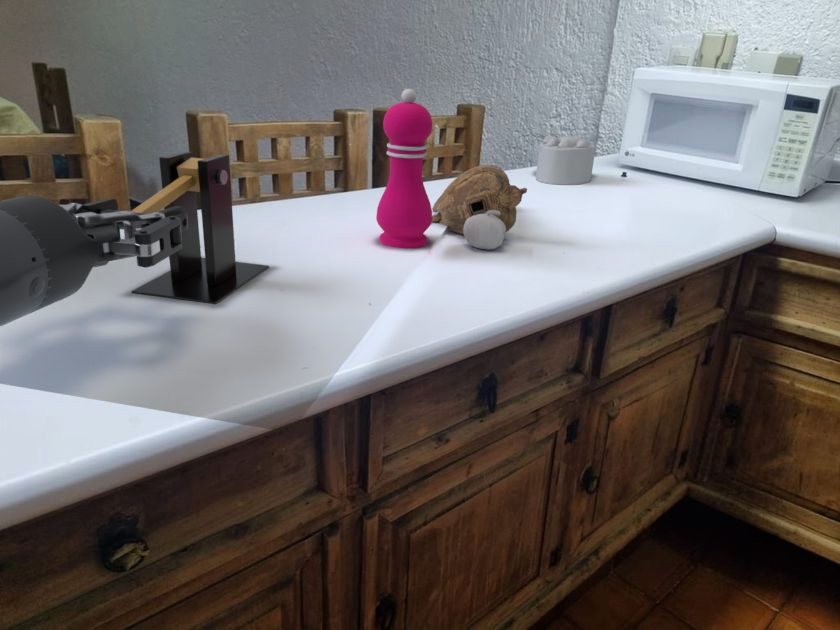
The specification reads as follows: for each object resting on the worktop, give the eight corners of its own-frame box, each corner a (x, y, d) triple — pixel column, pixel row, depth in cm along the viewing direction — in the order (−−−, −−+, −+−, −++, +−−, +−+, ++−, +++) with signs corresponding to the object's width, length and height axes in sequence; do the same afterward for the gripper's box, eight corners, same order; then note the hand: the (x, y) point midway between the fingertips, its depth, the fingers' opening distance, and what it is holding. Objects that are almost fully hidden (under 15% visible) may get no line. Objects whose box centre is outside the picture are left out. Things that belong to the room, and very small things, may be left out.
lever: (161, 241, 55) (155, 215, 54) (98, 234, 56) (90, 208, 55) (232, 183, 66) (229, 160, 65) (178, 178, 67) (173, 155, 66)
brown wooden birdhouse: (410, 189, 91) (514, 156, 86) (445, 161, 113) (530, 134, 108) (432, 256, 94) (534, 228, 89) (462, 216, 116) (546, 192, 111)
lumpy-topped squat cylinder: (596, 179, 142) (602, 138, 139) (569, 187, 132) (575, 143, 129) (553, 172, 148) (557, 132, 144) (524, 179, 138) (529, 137, 135)
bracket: (216, 314, 63) (205, 169, 58) (132, 303, 65) (114, 161, 59) (269, 276, 74) (264, 151, 69) (196, 267, 76) (186, 145, 70)
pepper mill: (436, 245, 89) (445, 89, 81) (423, 260, 82) (431, 92, 75) (384, 239, 90) (389, 85, 83) (368, 253, 84) (371, 88, 76)
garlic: (512, 247, 90) (516, 209, 88) (494, 256, 85) (498, 216, 83) (473, 239, 93) (476, 202, 91) (454, 247, 88) (457, 209, 86)
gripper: (84, 218, 40) (221, 178, 55) (-112, 195, 43) (71, 163, 58) (98, 332, 43) (225, 264, 58) (-86, 304, 45) (81, 246, 61)
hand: (147, 213), depth 58 cm, fingers closed on lever, 6 cm apart
